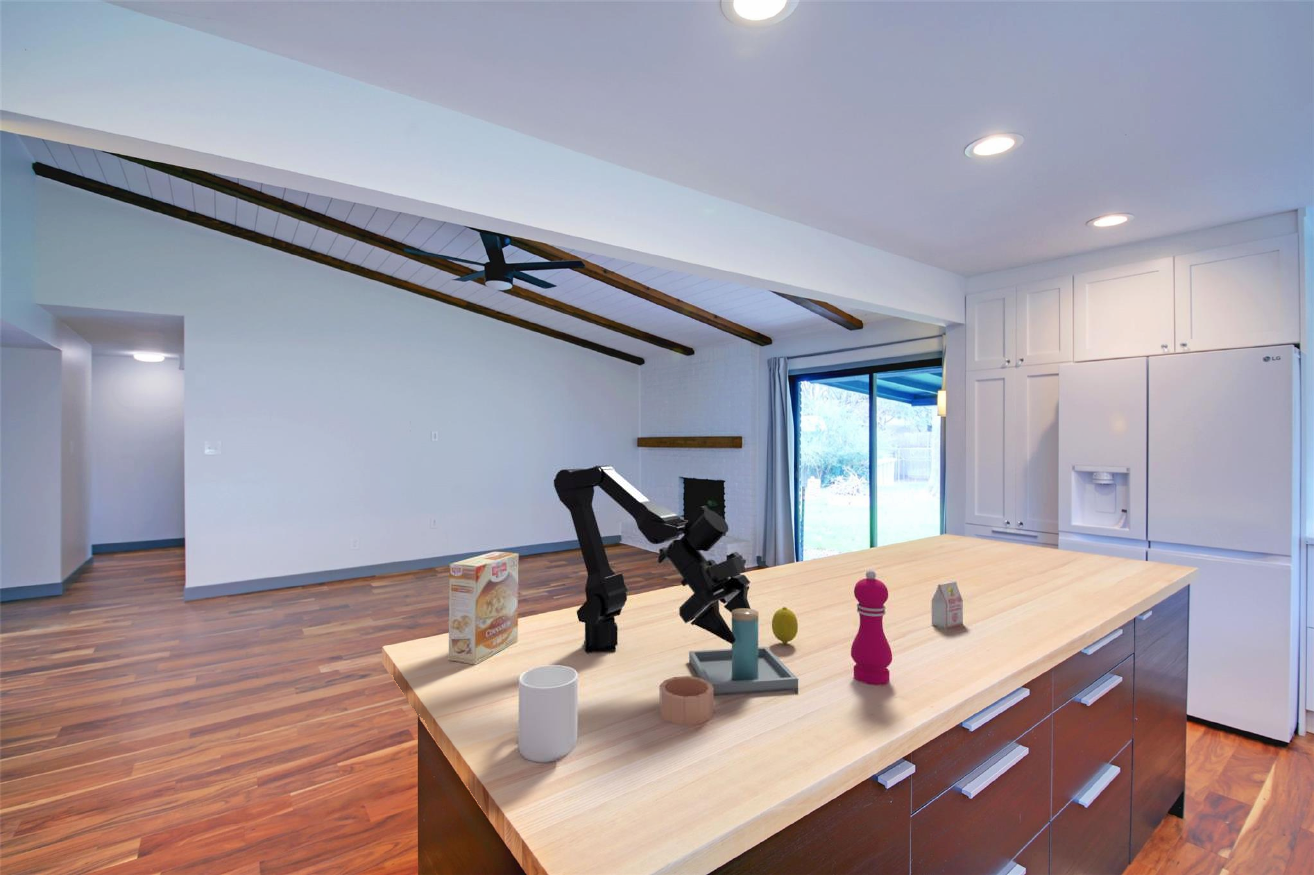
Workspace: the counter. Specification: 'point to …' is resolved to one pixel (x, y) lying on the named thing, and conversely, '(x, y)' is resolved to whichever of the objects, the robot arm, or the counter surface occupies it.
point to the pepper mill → (871, 632)
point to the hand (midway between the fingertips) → (745, 634)
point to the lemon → (784, 625)
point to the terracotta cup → (686, 700)
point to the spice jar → (745, 644)
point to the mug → (548, 712)
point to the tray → (719, 673)
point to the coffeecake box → (483, 606)
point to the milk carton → (947, 606)
